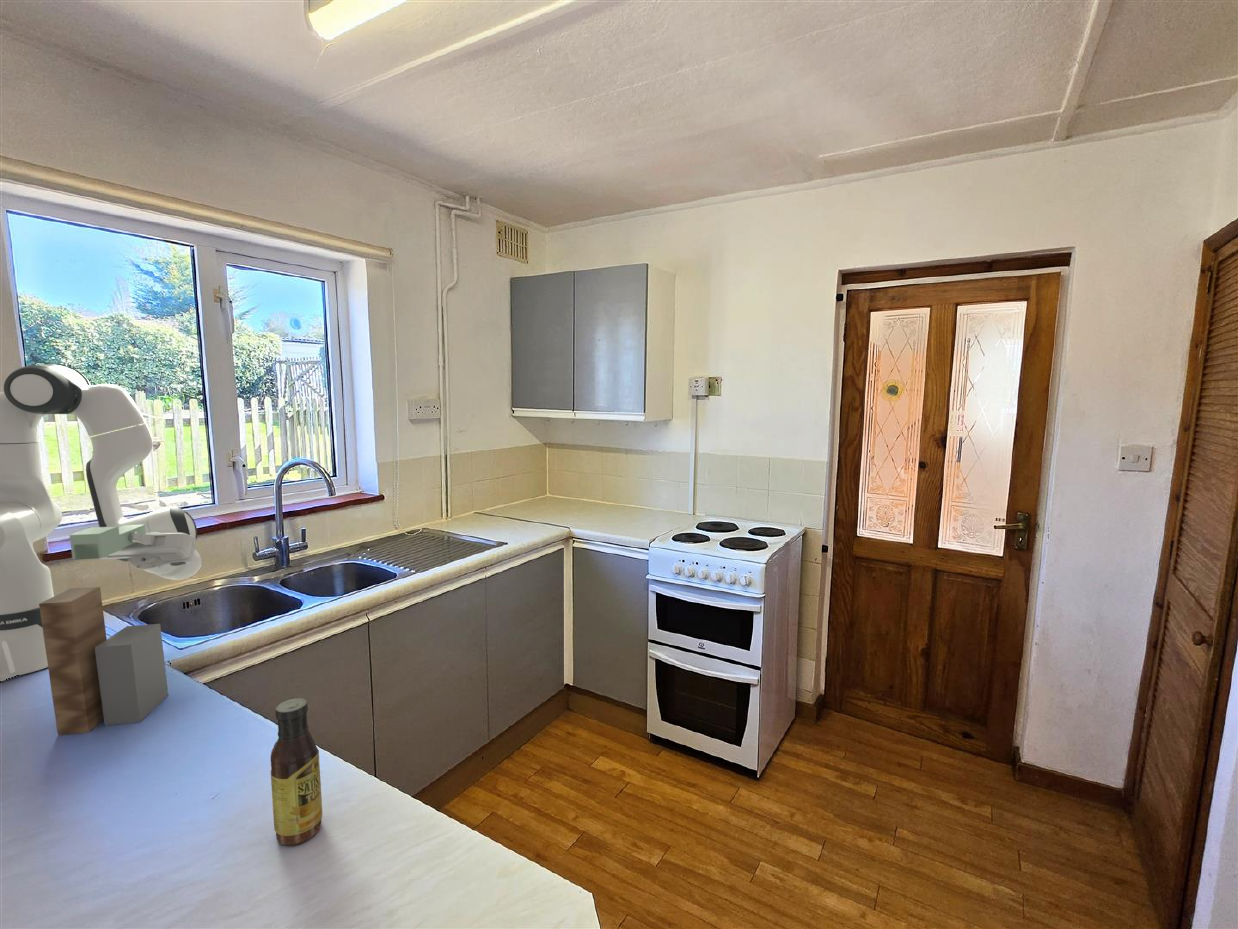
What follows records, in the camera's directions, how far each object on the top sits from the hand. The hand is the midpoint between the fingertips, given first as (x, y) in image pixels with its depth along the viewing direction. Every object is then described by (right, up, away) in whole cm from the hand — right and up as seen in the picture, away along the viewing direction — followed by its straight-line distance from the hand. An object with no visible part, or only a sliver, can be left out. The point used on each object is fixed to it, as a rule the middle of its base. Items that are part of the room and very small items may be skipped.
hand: (117, 536), depth 124 cm
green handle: (0, -2, -1) cm, 3 cm away
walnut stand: (+3, -35, -10) cm, 37 cm away
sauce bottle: (+60, -39, -38) cm, 81 cm away
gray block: (+9, -35, -6) cm, 36 cm away
